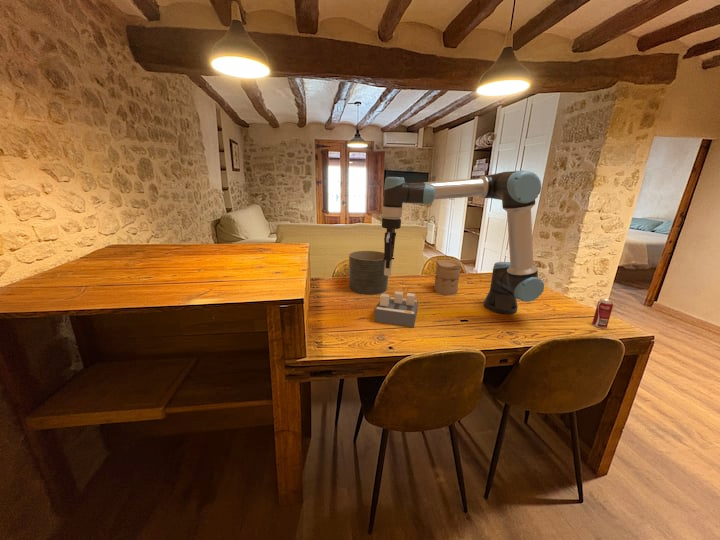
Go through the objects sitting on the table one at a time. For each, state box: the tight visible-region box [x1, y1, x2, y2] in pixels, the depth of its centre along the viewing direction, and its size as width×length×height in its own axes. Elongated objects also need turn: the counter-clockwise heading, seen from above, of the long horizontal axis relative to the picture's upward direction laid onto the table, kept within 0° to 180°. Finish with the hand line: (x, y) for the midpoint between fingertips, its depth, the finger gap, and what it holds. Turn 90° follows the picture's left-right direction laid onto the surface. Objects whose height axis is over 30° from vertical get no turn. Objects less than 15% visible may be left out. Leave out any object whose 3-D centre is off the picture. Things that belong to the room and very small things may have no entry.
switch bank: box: [374, 296, 419, 328], centre depth 134 cm, size 17×16×6 cm
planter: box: [348, 250, 389, 296], centre depth 165 cm, size 22×22×20 cm
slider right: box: [405, 292, 416, 306], centre depth 133 cm, size 4×4×4 cm
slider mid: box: [393, 290, 404, 304], centre depth 135 cm, size 4×4×4 cm
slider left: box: [379, 292, 391, 307], centre depth 132 cm, size 4×4×4 cm
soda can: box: [591, 298, 614, 329], centre depth 131 cm, size 5×5×12 cm
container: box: [433, 258, 462, 296], centre depth 163 cm, size 13×13×18 cm
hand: (387, 275), depth 124 cm, fingers closed
